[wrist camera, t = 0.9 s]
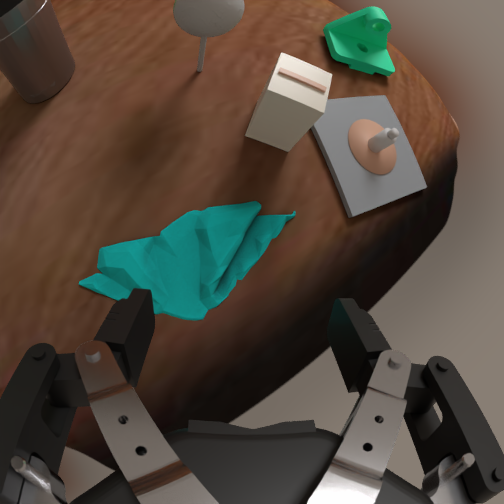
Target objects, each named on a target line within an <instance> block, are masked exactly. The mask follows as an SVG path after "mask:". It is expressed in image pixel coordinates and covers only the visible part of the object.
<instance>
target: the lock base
mask: <svg viewBox="0 0 504 504" xmlns="http://www.w3.org/2000/svg"><path fill="white" fill-rule="evenodd" d="M311 130H312V132H313V134H314V136H315V138H316V140H317V142H318V145H319V147H320V149H321V151H322V154H323V156H324V158H325V160H326V163H327V165H328V167H329V170H330V172H331V174H332V177H333V179H334V182H335V184H336V187H337V189H338V192H339V194H340V197H341V199H342V202H343V204H344V207H345V210H346V212H347V215H348V218H350V217H353V216H356V215H358V214H361V213H364V212H366V211H369V210H371V209H374V208H376V207H379V206H381V205H384V204H386V203H389V202H391V201H394V200H396V199H399V198H401V197H404V196H406V195H409V194H411V193H414V192H416V191H419V190H421V189H424V188H426V187H427V186H426V183H425V180H424V178H423V175H422V173H421V170H420V168H419V165H418V163H417V160H416V158H415V155H414V153H413V151H412V148H411V146H410V144H409V142H408V140H407V137H406V135H405V133H404V131H403V129H402V127H401V125H400V123H399V121H398V119H397V117H396V115H395V113H394V111H393V109H392V107H391V105H390V103H389V102H388V100H387V98H386V96H385V95H382V96H364V97H351V98H340V99H330V100H327V102H326V107H325V111H324V114H323V115H322V116H321V117H320V118H319V119H318V120H317V121H316V122H315V124H314V125H313V126H312V127H311Z"/></svg>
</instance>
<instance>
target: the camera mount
mask: <svg viewBox="0 0 504 504" xmlns="http://www.w3.org/2000/svg"><path fill="white" fill-rule="evenodd" d="M390 29H391V24H390V22H389V20H388V18H387V17H386V15H385V13H384V12H383V10H381V9H380V8H377V7H367V8H364V9H362V10H360V11H356V12H354V13H352V14H349V15H347V16H344V17H342V18H340V19H337V20H335V21H333V22H331V23H329V24H327V25H326V26H325V28H324V29H323V31H324V34H325V38H326V41H327V44H328V47H329V50H330V54H331V56H332V58H333V59H335V60H336V61H339V62H343V63H347V64H348V65H349V68H351V69H355V70H358V71H362V72H365V73H369V74H374V73H375V72H377V73H380V74H383V75H385V76H390V75H391V74H392V73H393V72H394V71H395V69H394V66H393V64H392V61H391V59H390V56H389V54H388V52H387V49H386V47H387V33H388V32H389V31H390Z"/></svg>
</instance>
